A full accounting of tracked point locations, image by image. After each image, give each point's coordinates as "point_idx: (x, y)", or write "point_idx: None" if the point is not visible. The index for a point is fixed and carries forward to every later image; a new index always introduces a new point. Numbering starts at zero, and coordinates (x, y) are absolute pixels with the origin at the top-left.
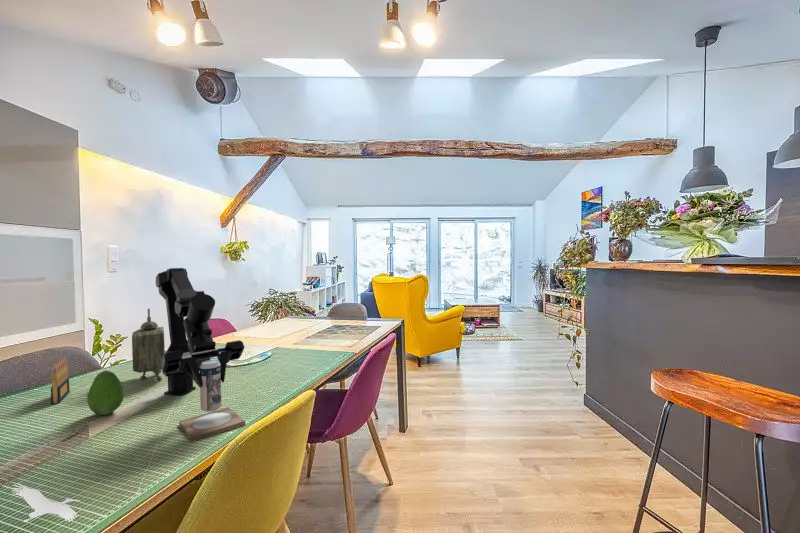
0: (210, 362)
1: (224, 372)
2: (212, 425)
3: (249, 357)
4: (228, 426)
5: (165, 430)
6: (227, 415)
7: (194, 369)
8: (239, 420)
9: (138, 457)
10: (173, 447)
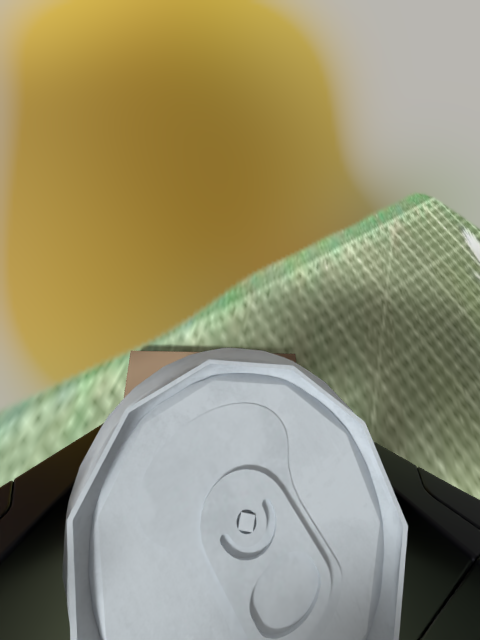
0: (249, 475)
1: (93, 434)
2: None
3: None
4: (187, 353)
5: None
6: None
7: (445, 492)
8: (141, 369)
9: (410, 368)
10: (335, 360)
